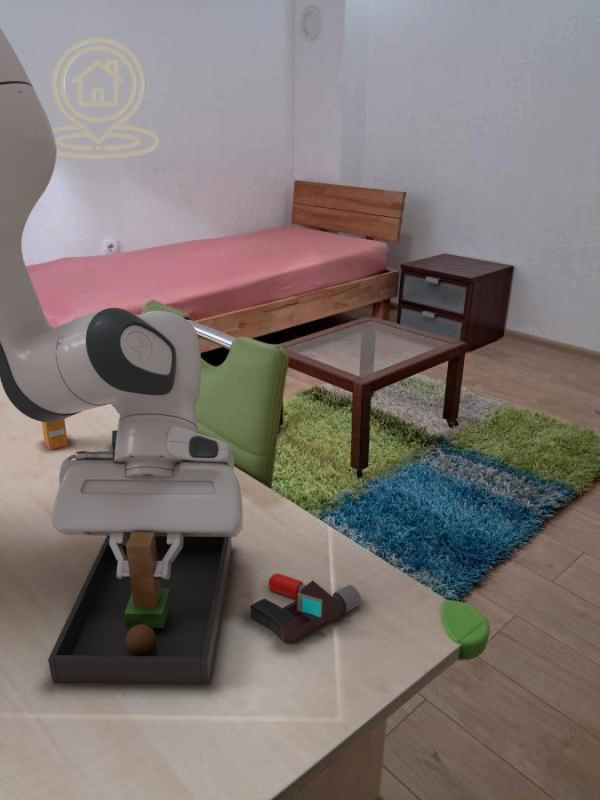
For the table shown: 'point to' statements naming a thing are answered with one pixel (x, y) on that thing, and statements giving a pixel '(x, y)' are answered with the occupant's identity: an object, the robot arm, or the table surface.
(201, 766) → the table surface
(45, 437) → the supplement box
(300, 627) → the toy gun
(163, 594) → the wooden post on base
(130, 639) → the brown wooden ball
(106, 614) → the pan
